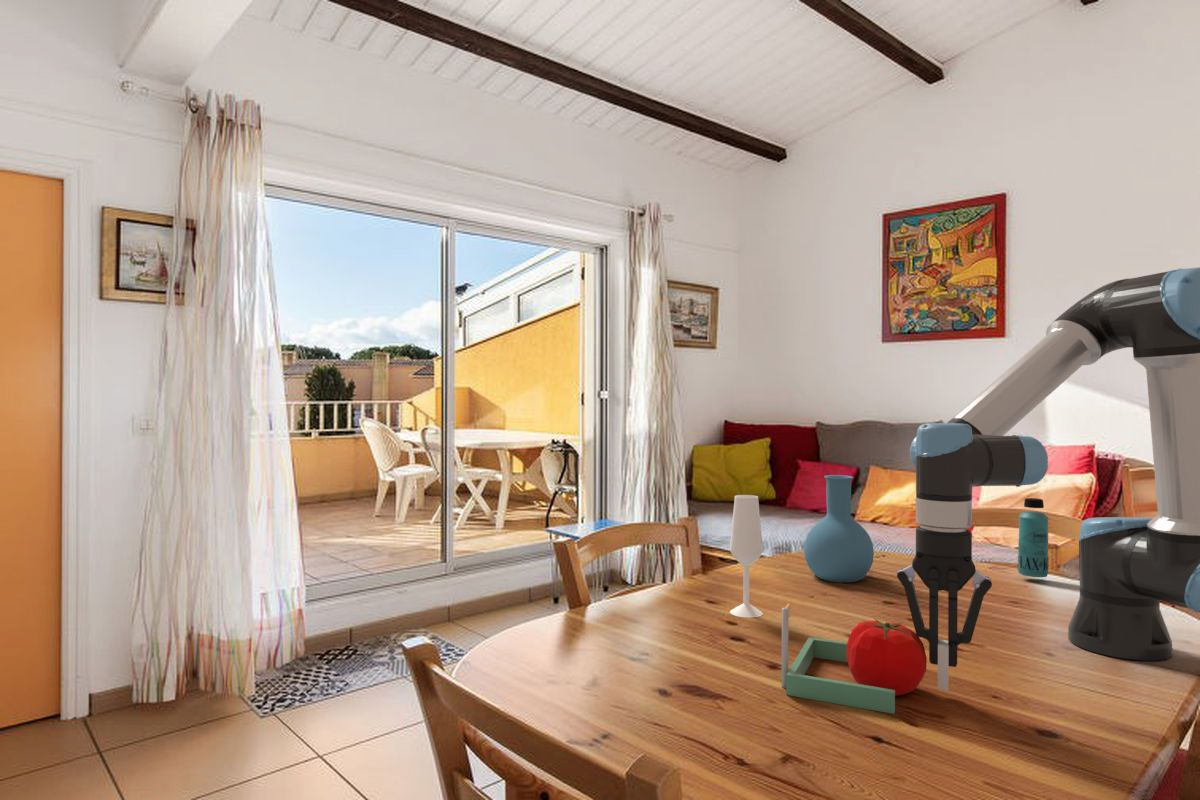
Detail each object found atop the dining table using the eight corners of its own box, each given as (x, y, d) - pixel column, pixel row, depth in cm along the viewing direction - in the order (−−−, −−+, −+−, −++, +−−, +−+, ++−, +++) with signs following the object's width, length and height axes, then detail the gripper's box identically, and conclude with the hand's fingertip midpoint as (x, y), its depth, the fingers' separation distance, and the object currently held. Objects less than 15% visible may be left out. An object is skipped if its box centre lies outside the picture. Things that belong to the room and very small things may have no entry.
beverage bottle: (1011, 578, 179) (1011, 497, 179) (1032, 576, 181) (1032, 496, 181) (1034, 584, 173) (1034, 500, 173) (1055, 582, 175) (1055, 499, 175)
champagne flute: (728, 616, 148) (728, 498, 148) (730, 607, 154) (730, 493, 154) (762, 618, 146) (762, 499, 146) (763, 609, 153) (763, 494, 153)
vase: (880, 575, 182) (880, 475, 182) (866, 589, 168) (866, 481, 168) (814, 567, 191) (814, 471, 191) (795, 580, 177) (795, 477, 177)
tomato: (828, 683, 113) (828, 616, 113) (879, 669, 119) (879, 606, 119) (892, 712, 103) (892, 639, 103) (945, 696, 108) (945, 626, 108)
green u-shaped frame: (902, 668, 119) (903, 595, 119) (894, 713, 102) (894, 628, 102) (801, 653, 126) (801, 584, 126) (777, 693, 109) (777, 613, 109)
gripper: (991, 526, 108) (991, 685, 108) (897, 520, 114) (897, 671, 114) (994, 535, 102) (994, 704, 102) (894, 527, 107) (894, 688, 107)
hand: (943, 686), depth 108 cm, fingers closed
